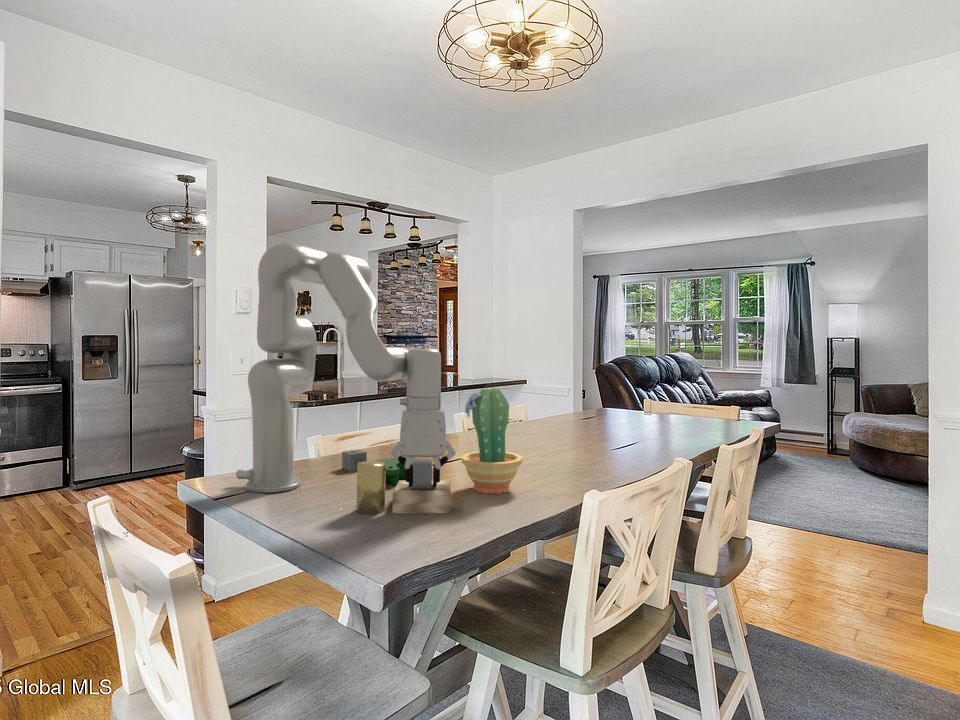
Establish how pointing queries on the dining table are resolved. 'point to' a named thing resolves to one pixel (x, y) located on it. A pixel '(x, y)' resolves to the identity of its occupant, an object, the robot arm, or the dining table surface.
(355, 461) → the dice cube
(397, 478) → the clamp
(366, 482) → the round bit
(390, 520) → the dining table surface
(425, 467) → the square bit
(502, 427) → the potted cactus
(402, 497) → the socket block
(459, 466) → the dining table surface
